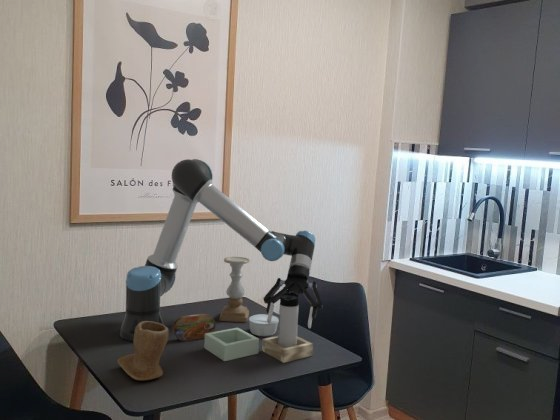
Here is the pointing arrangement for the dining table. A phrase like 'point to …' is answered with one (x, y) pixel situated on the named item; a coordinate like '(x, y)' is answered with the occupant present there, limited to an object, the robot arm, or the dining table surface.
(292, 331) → the travel mug
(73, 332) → the dining table surface
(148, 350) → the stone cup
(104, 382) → the dining table surface
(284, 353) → the brown square tray
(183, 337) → the tin
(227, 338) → the mint green square tray
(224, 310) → the candle holder
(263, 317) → the ramekin
